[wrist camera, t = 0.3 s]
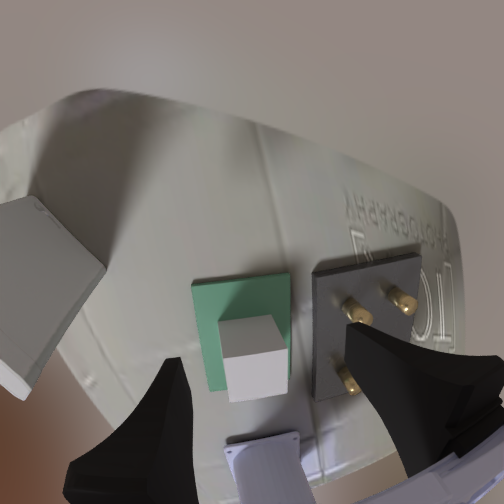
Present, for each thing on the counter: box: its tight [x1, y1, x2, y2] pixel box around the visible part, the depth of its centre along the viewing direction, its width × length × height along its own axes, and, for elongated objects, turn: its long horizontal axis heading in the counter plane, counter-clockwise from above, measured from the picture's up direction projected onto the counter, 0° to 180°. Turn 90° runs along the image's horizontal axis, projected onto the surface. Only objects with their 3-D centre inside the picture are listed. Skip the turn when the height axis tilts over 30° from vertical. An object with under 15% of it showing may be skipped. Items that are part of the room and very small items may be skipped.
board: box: [191, 273, 290, 403], centre depth 21 cm, size 10×7×5 cm
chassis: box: [312, 253, 422, 402], centre depth 23 cm, size 13×10×4 cm
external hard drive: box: [0, 195, 106, 400], centre depth 12 cm, size 2×8×12 cm, turn 43°
